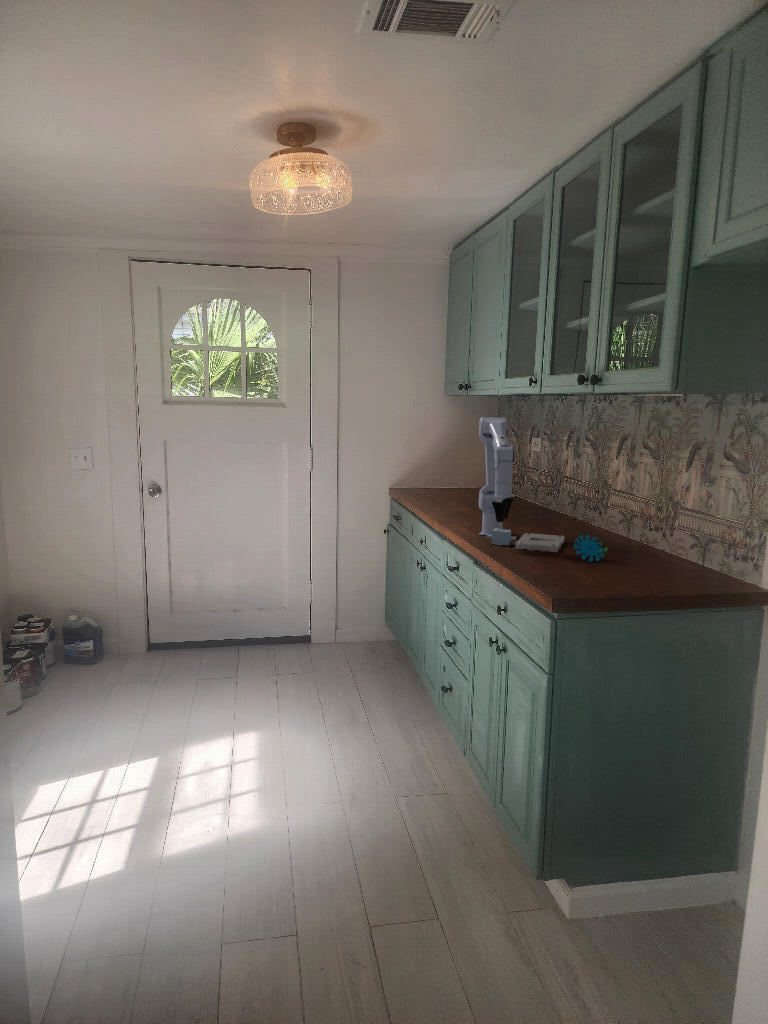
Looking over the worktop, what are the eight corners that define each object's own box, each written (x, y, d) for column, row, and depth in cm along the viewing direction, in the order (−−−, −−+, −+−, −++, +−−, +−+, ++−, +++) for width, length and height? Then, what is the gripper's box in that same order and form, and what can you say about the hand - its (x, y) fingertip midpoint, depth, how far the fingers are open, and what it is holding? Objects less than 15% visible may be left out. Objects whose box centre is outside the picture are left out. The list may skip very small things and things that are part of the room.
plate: (524, 538, 250) (525, 532, 249) (564, 541, 245) (564, 535, 244) (515, 548, 231) (515, 542, 231) (557, 552, 226) (557, 545, 226)
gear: (576, 557, 211) (573, 531, 217) (569, 567, 216) (567, 541, 222) (610, 562, 212) (607, 536, 218) (603, 572, 217) (600, 546, 223)
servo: (488, 542, 242) (488, 527, 242) (516, 544, 239) (517, 529, 238) (485, 544, 239) (486, 529, 238) (514, 546, 235) (515, 531, 234)
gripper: (511, 484, 227) (509, 524, 229) (518, 480, 241) (517, 517, 243) (490, 483, 230) (489, 522, 232) (498, 479, 243) (497, 516, 245)
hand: (502, 520), depth 237 cm, fingers open, 7 cm apart
